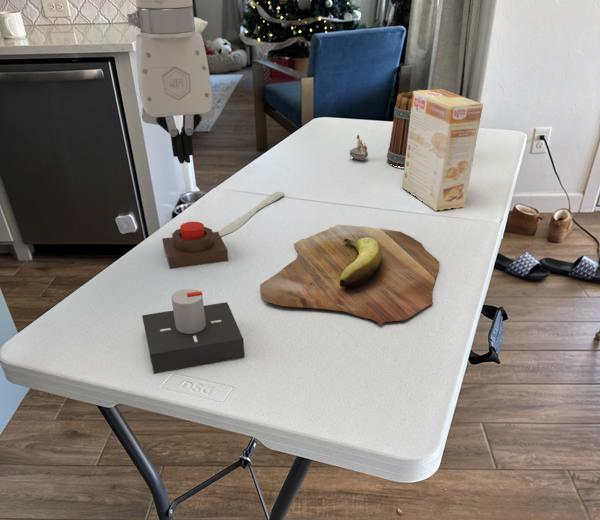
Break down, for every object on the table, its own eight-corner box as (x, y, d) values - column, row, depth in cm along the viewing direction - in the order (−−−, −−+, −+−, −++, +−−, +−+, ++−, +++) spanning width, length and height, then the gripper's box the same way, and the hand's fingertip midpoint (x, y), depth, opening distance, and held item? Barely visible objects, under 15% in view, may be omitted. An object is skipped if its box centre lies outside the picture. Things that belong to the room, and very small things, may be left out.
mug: (426, 172, 136) (435, 102, 127) (382, 167, 139) (388, 98, 129) (435, 153, 148) (445, 88, 138) (395, 149, 150) (401, 85, 141)
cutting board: (427, 335, 81) (431, 311, 79) (244, 308, 87) (243, 285, 84) (447, 236, 107) (450, 216, 105) (305, 221, 113) (305, 201, 111)
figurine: (346, 158, 145) (347, 132, 141) (361, 156, 146) (363, 130, 142) (356, 164, 141) (357, 138, 137) (372, 162, 142) (374, 136, 139)
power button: (183, 241, 97) (181, 232, 96) (179, 232, 100) (178, 223, 99) (206, 239, 98) (205, 229, 97) (202, 229, 101) (201, 220, 100)
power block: (170, 269, 97) (166, 247, 94) (164, 250, 103) (160, 228, 100) (228, 261, 99) (226, 239, 97) (219, 243, 105) (217, 221, 103)
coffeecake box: (465, 207, 119) (485, 103, 106) (435, 212, 117) (451, 106, 104) (429, 184, 130) (442, 87, 117) (400, 188, 128) (411, 90, 115)
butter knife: (289, 192, 124) (277, 189, 125) (218, 240, 105) (205, 236, 106) (289, 195, 124) (277, 192, 125) (219, 243, 106) (205, 239, 107)
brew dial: (178, 336, 75) (173, 303, 72) (174, 320, 78) (169, 289, 75) (208, 331, 76) (204, 299, 73) (203, 316, 79) (199, 284, 76)
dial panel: (153, 373, 74) (149, 353, 72) (145, 333, 81) (141, 314, 80) (244, 357, 77) (243, 337, 75) (228, 320, 84) (227, 300, 82)
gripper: (112, 28, 75) (137, 172, 86) (225, 23, 78) (235, 163, 90) (109, 21, 80) (133, 158, 92) (215, 17, 84) (225, 149, 96)
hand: (183, 160), depth 91 cm, fingers closed
